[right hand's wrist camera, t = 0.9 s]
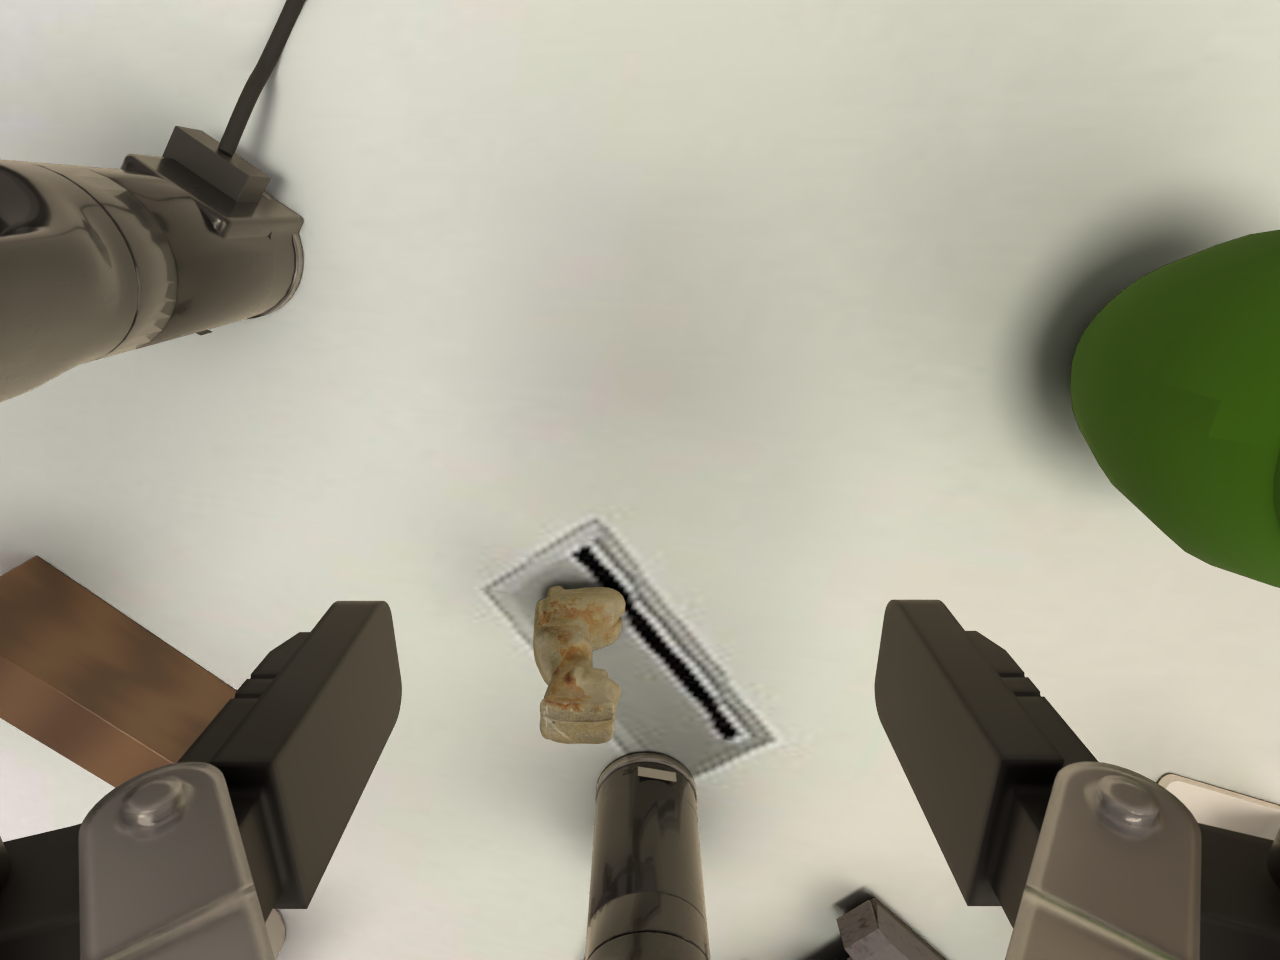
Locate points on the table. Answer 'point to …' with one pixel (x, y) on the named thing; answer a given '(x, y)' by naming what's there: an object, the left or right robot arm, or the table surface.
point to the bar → (96, 678)
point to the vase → (1193, 401)
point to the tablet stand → (1225, 807)
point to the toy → (881, 935)
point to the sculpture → (577, 663)
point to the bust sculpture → (275, 932)
